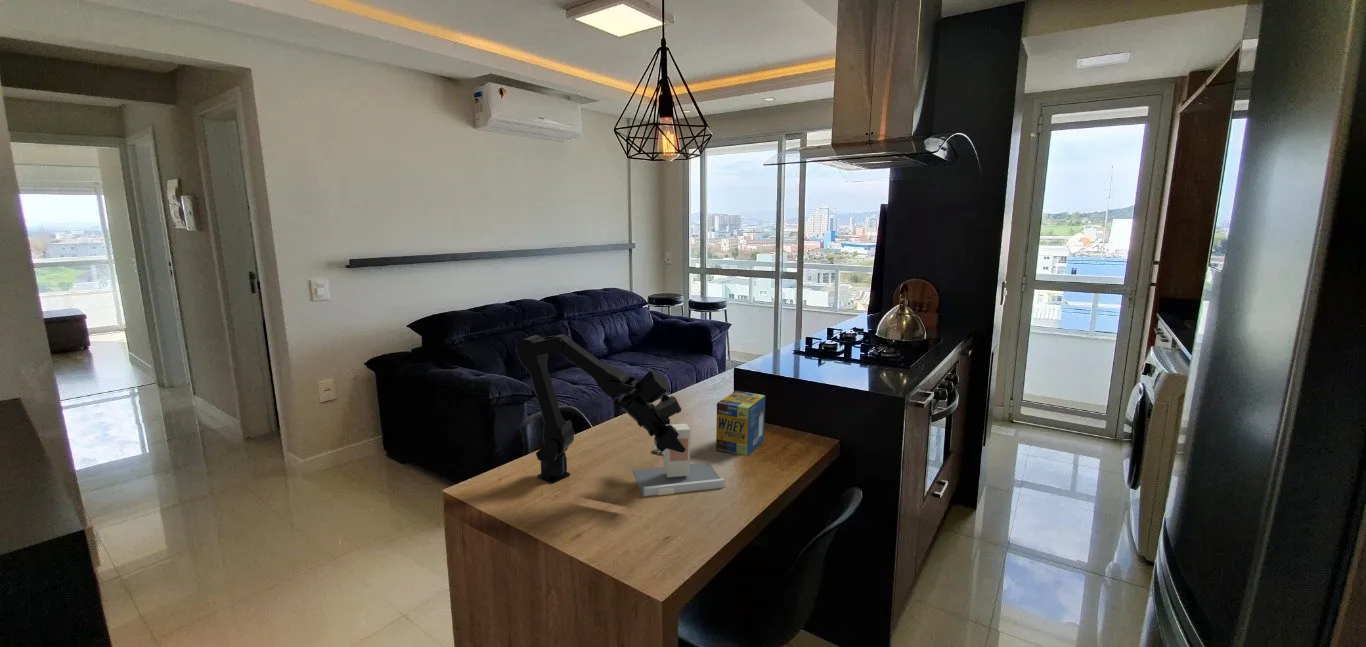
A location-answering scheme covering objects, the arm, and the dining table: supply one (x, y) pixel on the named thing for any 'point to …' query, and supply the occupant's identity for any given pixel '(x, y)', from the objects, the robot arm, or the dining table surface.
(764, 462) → the dining table surface
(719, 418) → the protein box
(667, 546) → the dining table surface
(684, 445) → the tea box
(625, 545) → the dining table surface
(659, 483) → the shelf board
